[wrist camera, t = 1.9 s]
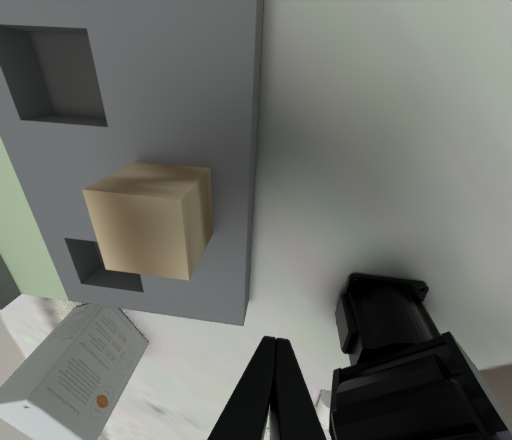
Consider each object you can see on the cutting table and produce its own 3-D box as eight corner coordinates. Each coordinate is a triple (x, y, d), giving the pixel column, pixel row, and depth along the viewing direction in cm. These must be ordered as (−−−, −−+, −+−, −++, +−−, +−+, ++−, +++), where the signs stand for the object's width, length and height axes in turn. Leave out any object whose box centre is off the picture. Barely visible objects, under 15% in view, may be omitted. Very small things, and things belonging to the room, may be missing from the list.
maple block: (210, 167, 16) (181, 199, 12) (213, 234, 19) (189, 280, 15) (136, 160, 17) (81, 189, 13) (148, 226, 19) (105, 269, 15)
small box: (74, 305, 30) (-22, 405, 21) (110, 296, 28) (23, 400, 19) (116, 349, 33) (48, 452, 24) (150, 343, 32) (92, 451, 22)
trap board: (264, -12, 14) (251, -52, 10) (248, 301, 26) (239, 346, 22) (-101, -23, 16) (-245, -59, 12) (36, 272, 28) (-11, 308, 24)
